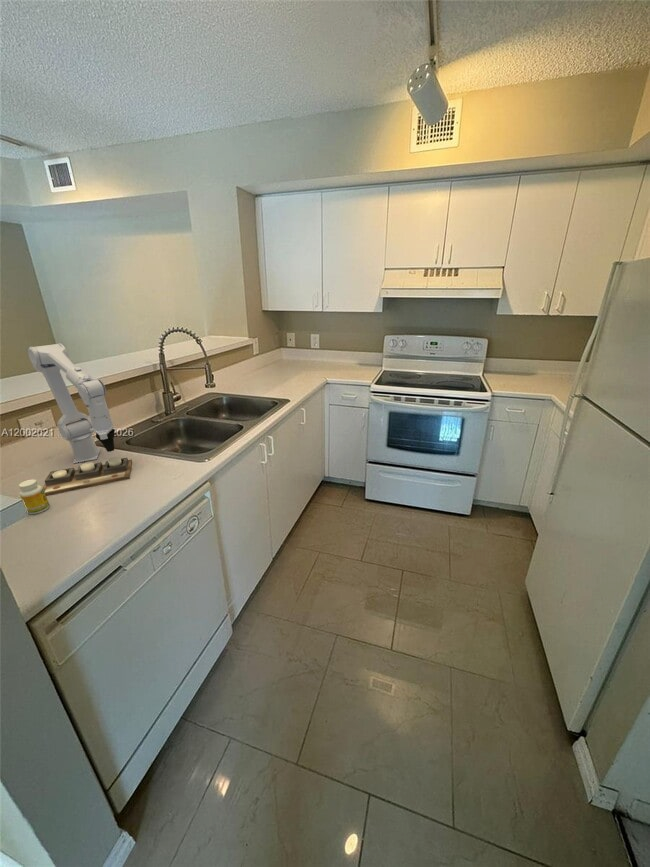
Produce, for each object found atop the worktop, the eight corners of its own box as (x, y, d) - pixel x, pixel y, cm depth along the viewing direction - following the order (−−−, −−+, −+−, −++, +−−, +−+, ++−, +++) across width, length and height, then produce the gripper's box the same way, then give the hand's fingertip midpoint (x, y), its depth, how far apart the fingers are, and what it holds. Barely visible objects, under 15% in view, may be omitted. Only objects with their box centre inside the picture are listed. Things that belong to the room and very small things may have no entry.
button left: (56, 477, 117) (53, 471, 116) (69, 474, 119) (67, 468, 118) (52, 482, 114) (50, 476, 113) (66, 480, 115) (64, 474, 114)
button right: (110, 464, 123) (108, 458, 122) (122, 461, 125) (121, 456, 124) (109, 469, 120) (107, 463, 119) (121, 466, 121) (119, 460, 120)
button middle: (83, 469, 120) (81, 463, 119) (96, 466, 121) (94, 461, 120) (81, 474, 117) (79, 468, 116) (94, 471, 118) (92, 466, 117)
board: (51, 476, 120) (48, 469, 118) (132, 461, 129) (130, 454, 128) (39, 497, 108) (35, 489, 107) (129, 478, 118) (127, 471, 116)
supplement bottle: (26, 509, 102) (14, 483, 98) (48, 502, 105) (37, 476, 102) (29, 517, 99) (17, 489, 95) (51, 508, 102) (40, 482, 98)
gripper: (87, 411, 118) (98, 445, 124) (84, 424, 106) (96, 461, 112) (110, 407, 121) (120, 441, 127) (109, 420, 110) (120, 456, 115)
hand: (110, 450), depth 119 cm, fingers closed
